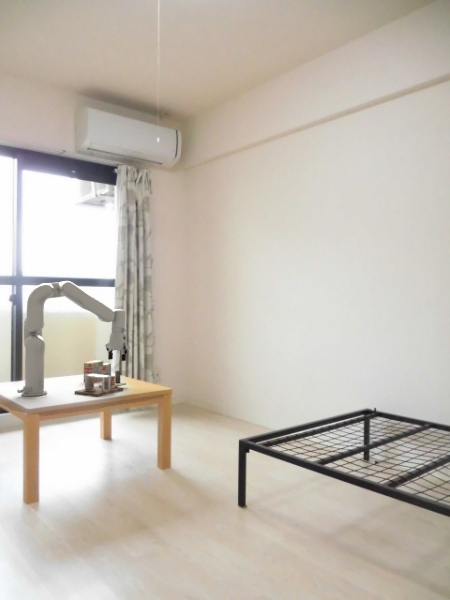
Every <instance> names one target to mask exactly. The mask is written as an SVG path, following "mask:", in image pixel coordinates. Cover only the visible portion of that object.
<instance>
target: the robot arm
mask: <svg viewBox="0 0 450 600" xmlns="http://www.w3.org/2000/svg"><path fill="white" fill-rule="evenodd" d="M62 297H63V298H64V297H65V298H66V299H68V300H69V301H71V302H72V303H74V304H76V305H77V306H78V307H80V308H81V309H83V310H86V311H87V312H88V311H89V312H90V313H92V314H94V315H95V316H97V318H98V319H99V321H101V322H104V323H111V331H110V335H109V341H108V343H107V344H105V345H104V347H105V349H106V351H107V353H108V356H107V357H108V358H107V359H108V360H113V359H114V358H113V357H114V352H113V351H119V352H121V353H122V354H121V359H120V361H121V362H125V361H126V360H127V354H128V352H130V349H131V347H130V346H129V345H128V341H127V340H128V339H127V334H126V331H127V329H126V310H125V309H111V308H110V307H108V306H107V305H105V304H104V303H103V302H101V301H100V300H98V299H96V298H95V297H94V296H92V295H91V294H89V293H87V291H85V290H83V289H82V288H81V287H79V285H76V284H75V283H74V282H72V281H70V280H65V281H59V282H48V283H47V282H46V283H41V284H39V285H38V286H36V287H35V288H33V290H32V291H31V293H30V294H29V295H28V297H27V302H26V317H25V319H24V321H23V345H24V349H25V356H24V386H23V388H20V389H19V388H18V389H17V390H16V392H17V394H21V395H22V396H25V397H37V396H43V395H47V393H48V391H47V390H45V351H46V343H45V340H44V339H43V329H44V327H45V320H44V319H45V318H44V315H45V313H44V312H45V311H44V310H45V303H46V301H47V300H48V299H55V298H62Z"/></svg>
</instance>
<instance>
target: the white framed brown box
mask: <svg viewBox="0 0 450 600" xmlns="http://www.w3.org/2000/svg"><path fill="white" fill-rule="evenodd" d="M125 385H127V383H126V382H121V370H115V371H114V375H111V379H110V388H114V387H122V386H125ZM98 386H99V387H102V384H99V385H98ZM104 387H105V388H108V378H104Z"/></svg>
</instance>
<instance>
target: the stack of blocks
mask: <svg viewBox="0 0 450 600" xmlns="http://www.w3.org/2000/svg"><path fill="white" fill-rule="evenodd" d="M89 374H99V375H109V376H112V363H110V362H109V363H106V362H104V360H99V359H98V360H95V359H94V360H91V361H86V362H83V383H85V375H89ZM100 381H101V382H102V379H101V378H94V383H96V382H100Z"/></svg>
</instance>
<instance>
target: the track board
mask: <svg viewBox="0 0 450 600" xmlns="http://www.w3.org/2000/svg"><path fill="white" fill-rule="evenodd" d="M101 390H102V387H99V385H96V386H94V388H91V389H87V390H85V388H82V389H78V390H74V395H79V396H80V395H81V396H85V397H95V398H99V397H102V396H107V395H110V394H111V395H112V394H115V393H118V392H123V391H124V387H122V386H118V387H114V388H110V390H108V388H105V387H104V392H101Z"/></svg>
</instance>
